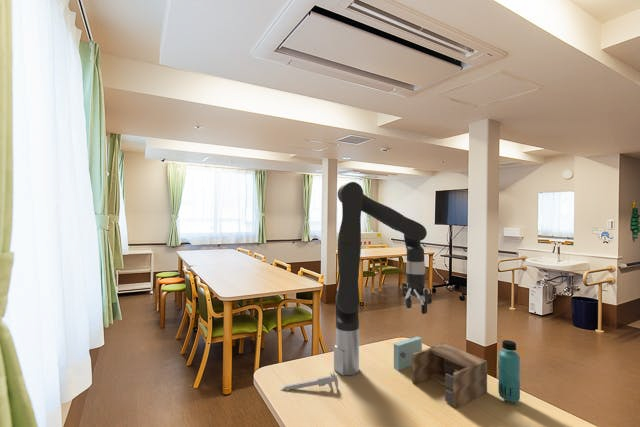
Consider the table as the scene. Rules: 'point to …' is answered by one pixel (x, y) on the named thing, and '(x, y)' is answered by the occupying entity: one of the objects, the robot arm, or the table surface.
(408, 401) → the table surface
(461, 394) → the cabinet
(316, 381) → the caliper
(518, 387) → the beverage bottle
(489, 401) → the table surface
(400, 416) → the table surface
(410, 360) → the door
